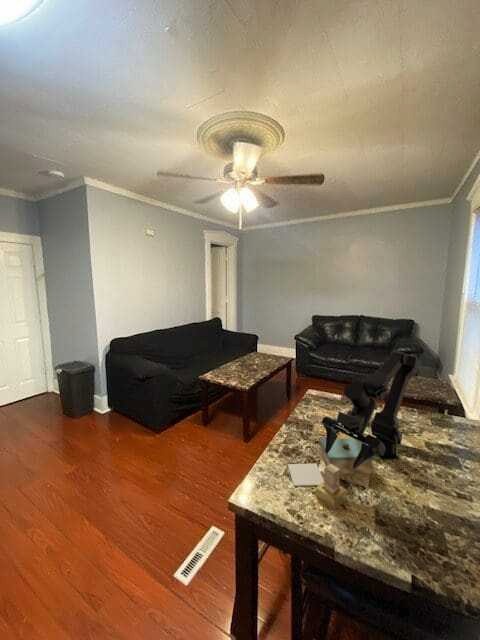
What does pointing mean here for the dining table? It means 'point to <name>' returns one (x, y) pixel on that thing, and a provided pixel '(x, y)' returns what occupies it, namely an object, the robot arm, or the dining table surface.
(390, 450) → the robot arm
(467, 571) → the dining table surface
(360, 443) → the drawer
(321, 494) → the frame
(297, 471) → the grey mat
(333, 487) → the brown square block
